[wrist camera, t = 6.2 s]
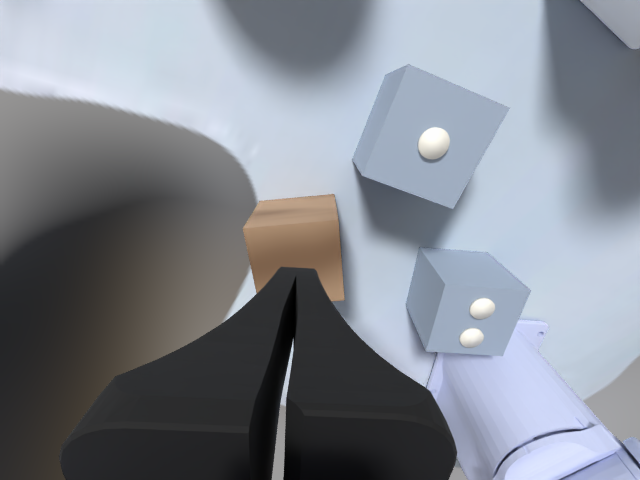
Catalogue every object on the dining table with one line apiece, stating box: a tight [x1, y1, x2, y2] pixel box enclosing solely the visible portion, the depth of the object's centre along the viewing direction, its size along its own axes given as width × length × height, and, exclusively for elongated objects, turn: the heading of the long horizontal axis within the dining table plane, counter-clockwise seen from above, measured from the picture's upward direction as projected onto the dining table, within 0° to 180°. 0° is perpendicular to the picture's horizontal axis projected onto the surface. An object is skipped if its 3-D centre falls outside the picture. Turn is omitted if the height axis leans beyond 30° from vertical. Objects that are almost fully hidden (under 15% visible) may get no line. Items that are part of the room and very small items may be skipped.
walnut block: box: [243, 194, 344, 301], centre depth 19 cm, size 5×5×5 cm
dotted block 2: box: [406, 247, 531, 356], centre depth 20 cm, size 5×5×5 cm
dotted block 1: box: [352, 64, 510, 209], centre depth 16 cm, size 5×5×5 cm
